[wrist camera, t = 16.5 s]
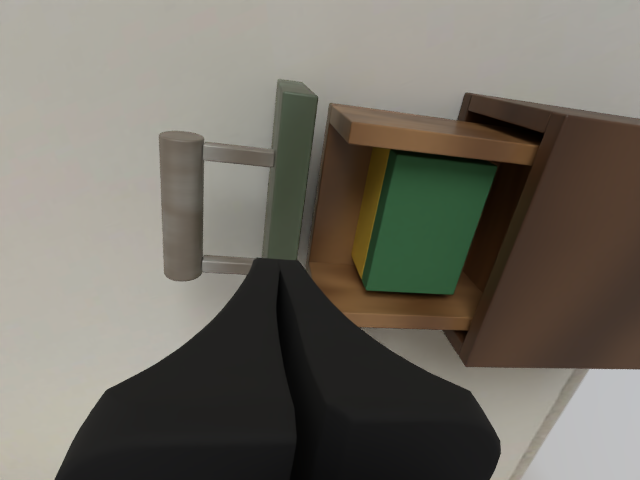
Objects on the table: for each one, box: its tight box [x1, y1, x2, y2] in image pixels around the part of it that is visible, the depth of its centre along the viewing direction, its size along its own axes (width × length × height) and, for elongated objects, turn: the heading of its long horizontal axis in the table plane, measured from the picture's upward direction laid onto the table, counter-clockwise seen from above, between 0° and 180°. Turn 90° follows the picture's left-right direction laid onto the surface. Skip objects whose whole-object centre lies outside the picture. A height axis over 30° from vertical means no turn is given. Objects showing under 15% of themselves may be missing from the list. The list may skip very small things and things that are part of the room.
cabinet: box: [442, 93, 640, 369], centre depth 20 cm, size 14×12×8 cm
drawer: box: [159, 79, 543, 331], centre depth 18 cm, size 17×10×6 cm, turn 82°
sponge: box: [351, 147, 498, 295], centre depth 19 cm, size 4×6×4 cm
